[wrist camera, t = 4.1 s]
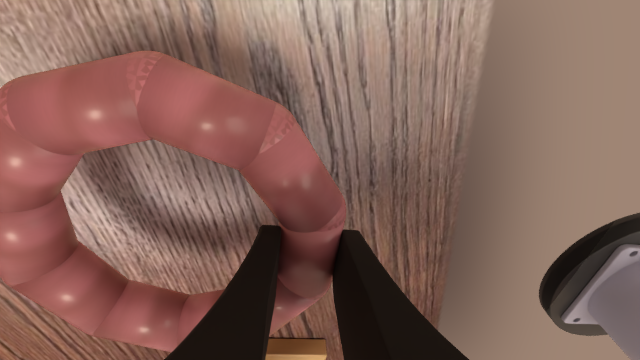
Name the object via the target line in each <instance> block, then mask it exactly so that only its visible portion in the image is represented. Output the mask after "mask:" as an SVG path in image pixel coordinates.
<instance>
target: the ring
mask: <svg viewBox="0 0 640 360" xmlns="http://www.w3.org/2000/svg"><path fill="white" fill-rule="evenodd" d="M152 139H154V140H157V141H160V142H162V143H165V144H168V145H171V146H173V147H176V148H179V149H182V150H184V151H187V152H190V153H193V154H195V155H198V156H201V157H204V158H206V159H209V160H212V161H215V162H217V163H220V164H223V165H226V166H228V167H231V168H234V169H237V170H239V172H240V173H241V174H242V175H243V177H244V178H245V179H246V180H247V182H248V183H249V184H250V185H251V187H252V188H253V189H254V190H255V192H256V193H257V194H258V195H259V197H260V198H261V199H262V200H263V202H264V203H265V204H266V206H267V207H268V208H269V209H270V211H271V212H272V213H273V214H274V216H275V217H276V218H277V219H278V221H279V225H278V226H280V227H281V242H280V253H279V265H278V276H277V288H276V299H275V305H274V311H273V316H272V322H271V328H270V334H269V336H271V335H272V334H273V333H275V332H276V331H277V330H279V329H280V328H281V327H283V326H284V325H285V324H287V323H288V322H289V321H291V320H292V319H293V318H295V317H296V316H298V315H299V314H300V313H302V312H303V311H304V310H306V309H307V308H308V307H310V306H311V305H312V304H314V303H315V302H316V301H318V300H319V299H320V298H322V297H323V296H324V295H325V294H326V292H327V291H328V289H329V288H330V285H331V282H332V278H333V271H334V266H335V262H336V257H337V252H338V247H339V243H340V238H341V233H342V230H343V227H344V222H345V217H346V204H345V200H344V198H343V195H342V193H341V192H340V190H339V189H338V187H337V185H336V184H335V182H334V180H333V179H332V177H331V176H330V174H329V172H328V171H327V169H326V168H325V166H324V164H323V163H322V161H321V160H320V158H319V156H318V155H317V153H316V152H315V150H314V148H313V147H312V145H311V143H310V142H309V140H308V139H307V137H306V135H305V134H304V132H303V131H302V129H301V127H300V126H299V124H298V123H297V121H296V119H295V118H294V116H293V115H292V114H291V112H290V111H288V110H287V109H286V108H285V107H284V106H282V105H281V104H279V103H277V102H275V101H273V100H270V99H268V98H266V97H263V96H261V95H259V94H256V93H254V92H252V91H250V90H247V89H245V88H243V87H240V86H238V85H236V84H233V83H231V82H229V81H226V80H224V79H222V78H220V77H217V76H215V75H213V74H210V73H208V72H206V71H203V70H201V69H199V68H197V67H194V66H192V65H190V64H187V63H185V62H183V61H180V60H178V59H176V58H173V57H171V56H169V55H166V54H163V53H160V52H156V51H137V52H132V53H127V54H123V55H118V56H114V57H109V58H104V59H100V60H95V61H90V62H86V63H81V64H77V65H72V66H67V67H63V68H58V69H53V70H49V71H44V72H39V73H35V74H30V75H26V76H21V77H18V78H16V79H13V80H11V81H9V82H7V83H6V84H5V85H3V86H2V87H1V88H0V277H1V278H2V280H3V281H4V282H5V283H6V284H7V285H9V286H10V287H11V288H13V289H15V290H16V291H18V292H20V293H21V294H23V295H24V296H26V297H28V298H29V299H31V300H33V301H34V302H36V303H37V304H39V305H41V306H42V307H44V308H45V309H47V310H49V311H50V312H52V313H54V314H55V315H57V316H58V317H60V318H62V319H63V320H65V321H67V322H68V323H70V324H71V325H73V326H75V327H76V328H78V329H79V330H81V331H83V332H84V333H86V334H88V335H91V336H94V337H99V338H104V339H109V340H114V341H119V342H124V343H129V344H134V345H139V346H144V347H149V348H154V349H159V350H164V351H169V352H172V351H173V350H174V349H175V348H176V347H177V346H178V345H179V344H180V343H181V342H182V341H183V340H184V339H185V338H186V337H187V335H188V334H189V333H190V332H191V331H192V330H193V329H194V327H195V326H196V325H197V324H198V323H199V322H200V321H201V320H202V318H203V317H204V316H205V315H206V313H207V312H208V311H209V310H210V309H211V307H212V306H213V305H214V303H215V302H216V301H217V300H218V298H219V297H220V296H221V294H222V293H223V291H224V290H225V289H223V290H217V291H211V292H205V293H200V294H194V295H189V294H185V293H181V292H177V291H173V290H169V289H165V288H161V287H157V286H153V285H149V284H145V283H141V282H137V281H133V280H129V279H127V278H126V277H125V276H123V275H122V274H121V273H120V272H118V271H117V270H116V269H114V268H113V267H112V266H110V265H109V264H108V263H107V262H105V261H104V260H103V259H101V258H100V257H99V256H98V255H96V254H95V253H94V252H92V251H91V250H90V249H89V248H87V247H86V246H85V245H83V244H82V243H81V242H79V241H78V240H77V237H76V234H75V231H74V228H73V225H72V222H71V219H70V216H69V214H68V211H67V208H66V205H65V202H64V199H63V196H62V193H61V189H62V187H63V186H64V184H65V183H66V181H67V180H68V178H69V177H70V175H71V173H72V172H73V170H74V169H75V167H76V166H77V164H78V162H79V161H80V159H81V158H82V156H83V155H84V153H86V152H92V151H97V150H102V149H107V148H112V147H117V146H122V145H127V144H132V143H137V142H142V141H147V140H152Z"/></svg>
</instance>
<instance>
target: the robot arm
mask: <svg viewBox="0 0 640 360" xmlns="http://www.w3.org/2000/svg"><path fill="white" fill-rule="evenodd" d="M280 242H281V227H280V226H275V225H262V226H261V227H260V228H259V231H258V234H257V236H256V239H255V241H254V243H253V245H252V247H251V249H250V251H249V253H248V254H247V256H246V258H245V259H244V261H243V263H242V264H241V266H240V268H239V269H238V271H237V273H236V274H235V276H234V277H233V278H232V280H231V281H230V283H229V284H228V286H227V287H226V289H225V290H224V291H223V293H222V294H221V296H220V297H219V298H218V300H217V301H216V302H215V303H214V305H213V306H212V307H211V309H210V310H209V311H208V312H207V313H206V315H205V316H204V317H203V318H202V320H201V321H200V322H199V323H198V324H197V325H196V326H195V327H194V329H193V330H192V331H191V332H190V333H189V334H188V335H187V337H186V338H185V339H184V340H183V341H182V342H181V343H180V344H179V345H178V346H177V347H176V348H175V349H174V350H173V351H172V352H171V353H170V354H169V355H168V356H167V357H166V358H165V359H164V360H265V358H266V352H267V346H268V340H269V334H270V328H271V322H272V316H273V311H274V305H275V299H276V288H277V276H278V265H279V253H280ZM333 294H334V303H335V309H336V315H337V321H338V327H339V332H340V338H341V344H342V350H343V355H344V360H469V359H468V358H467V357H465V356H464V355H463V354H462V353H461V352H460V351H459V350H458V349H456V347H454V346H453V345H452V344H451V343H450V342H449V341H448V340H447V339H446V338H444V336H442V335H441V334H440V333H439V332H438V331H437V330H436V329H435V328H434V327H433V326H432V324H431V323H430V322H429V321H428V320H427V319H426V318H425V317H424V316H423V315H422V314H421V313H420V312H419V311H418V310H417V308H416V307H415V306H414V305H413V304H412V303H411V302H410V300H409V299H408V298H407V297H406V296H405V294H404V293H403V292H402V291H401V290H400V288H399V287H398V286H397V284H396V283H395V282H394V281H393V279H392V278H391V277H390V275H389V274H388V273H387V271H386V270H385V269H384V267H383V266H382V264H381V263H380V262H379V260H378V259H377V257H376V256H375V254H374V253H373V251H372V250H371V248H370V247H369V245H368V244H367V242H366V241H365V239H364V238H363V236H362V235H361V233H360V232H359V231H357V230H342V233H341V238H340V243H339V247H338V252H337V257H336V262H335V266H334V271H333ZM561 319H562V320H563V321H564V322H565V323H568V324H599V325H600V326H601V327H602V328H603V329H604V330H605V331H606V333H607V334H608V335H609V336H610V337H611V338H612V339H613V340H614V341H615V343H616V344H617V345H618V346H619V347H620V348H621V349H622V350H623V352H624V353H625V354H626V355H627V356H628V357H629V358H630V359H631V360H640V245H633V244H623V245H621V246H619V247H617V248H616V249H615V251H614V252H613V253H612V254H611V256H610V257H609V258H608V259H607V261H606V262H605V263H604V264H603V266H602V267H601V268H600V269H599V270H598V272H597V273H596V274H595V275H594V277H593V278H592V279H591V280H590V282H589V283H588V284H587V285H586V287H585V288H584V289H583V290H582V291H581V293H580V294H579V295H578V296H577V298H576V299H575V300H574V301H573V303H572V304H571V305H570V306H569V307H568V309H567V310H566V311H565V312H564V314H563V315H562V317H561Z"/></svg>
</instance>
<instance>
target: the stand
mask: <svg viewBox="0 0 640 360" xmlns="http://www.w3.org/2000/svg"><path fill="white" fill-rule="evenodd" d="M326 355H327V354H326V342H325V339H269V340H268V346H267V352H266V358H265V360H326Z"/></svg>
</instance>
